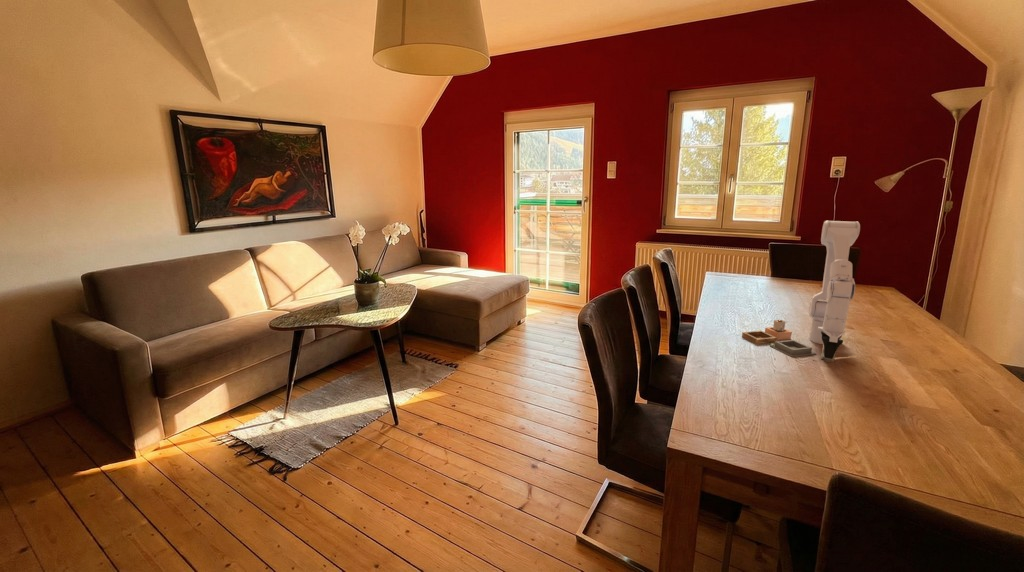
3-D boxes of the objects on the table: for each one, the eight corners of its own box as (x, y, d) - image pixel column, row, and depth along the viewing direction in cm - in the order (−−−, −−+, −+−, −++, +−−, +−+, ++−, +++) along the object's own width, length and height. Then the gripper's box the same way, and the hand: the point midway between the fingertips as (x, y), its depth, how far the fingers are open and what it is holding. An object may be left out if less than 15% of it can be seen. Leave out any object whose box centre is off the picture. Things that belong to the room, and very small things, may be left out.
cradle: (792, 345, 155) (793, 338, 155) (815, 356, 146) (817, 348, 146) (769, 347, 154) (770, 340, 153) (791, 358, 144) (792, 351, 144)
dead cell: (777, 334, 164) (780, 318, 163) (785, 337, 161) (788, 321, 159) (769, 335, 163) (772, 319, 162) (777, 338, 160) (779, 322, 158)
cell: (826, 356, 146) (830, 339, 144) (836, 361, 142) (840, 343, 141) (817, 357, 145) (821, 340, 143) (827, 362, 141) (831, 344, 140)
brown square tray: (760, 336, 164) (760, 330, 163) (775, 343, 157) (776, 337, 156) (741, 338, 162) (742, 332, 162) (756, 345, 155) (757, 339, 155)
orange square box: (777, 334, 166) (779, 326, 165) (790, 340, 160) (791, 331, 159) (764, 335, 164) (765, 327, 164) (776, 341, 159) (777, 333, 158)
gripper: (819, 308, 148) (813, 345, 151) (821, 320, 136) (813, 360, 139) (845, 312, 144) (838, 350, 147) (849, 324, 132) (840, 365, 136)
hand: (828, 355), depth 143 cm, fingers closed on cell, 4 cm apart
